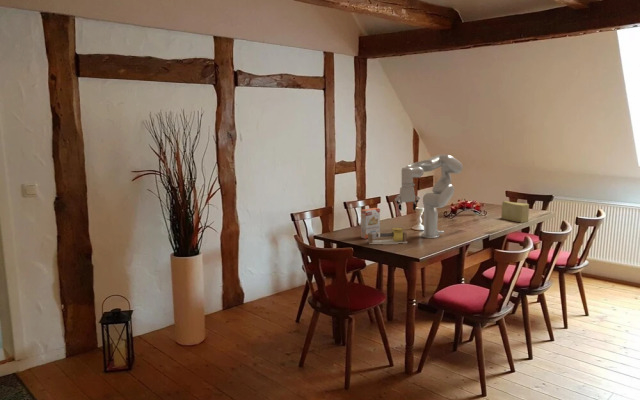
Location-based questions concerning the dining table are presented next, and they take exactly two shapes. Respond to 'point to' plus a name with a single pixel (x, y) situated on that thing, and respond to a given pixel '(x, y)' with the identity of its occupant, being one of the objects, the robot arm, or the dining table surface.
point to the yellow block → (397, 234)
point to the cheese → (515, 211)
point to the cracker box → (370, 221)
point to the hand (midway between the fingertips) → (407, 210)
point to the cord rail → (374, 235)
